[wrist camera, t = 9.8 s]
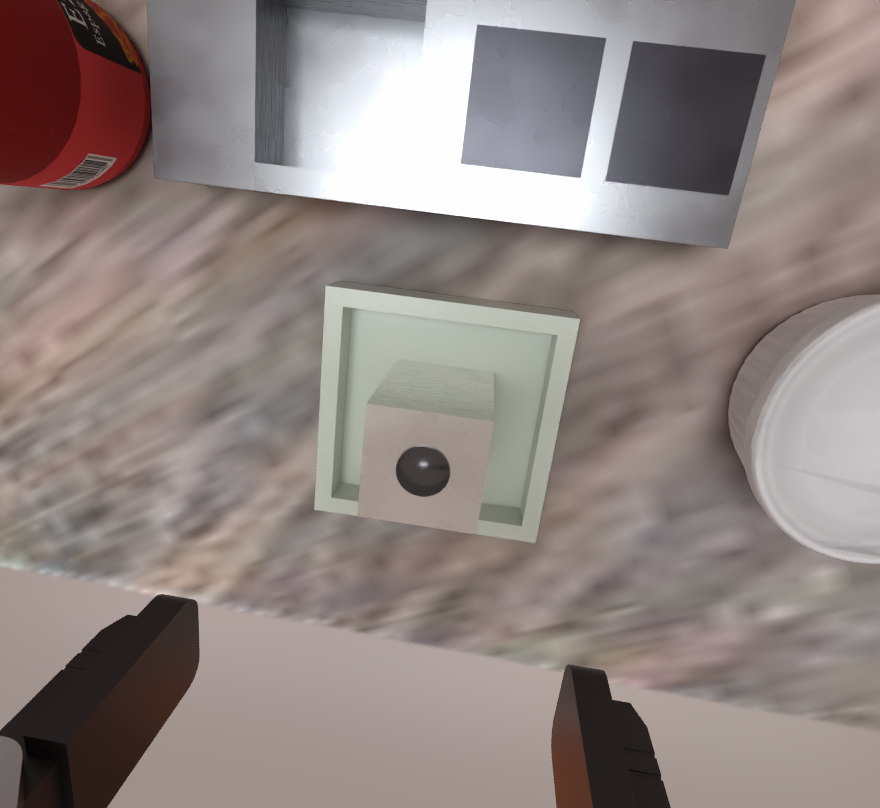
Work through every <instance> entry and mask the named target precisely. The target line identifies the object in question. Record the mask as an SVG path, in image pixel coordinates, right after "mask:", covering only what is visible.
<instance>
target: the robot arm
mask: <svg viewBox="0 0 880 808" xmlns="http://www.w3.org/2000/svg"><path fill="white" fill-rule="evenodd" d="M198 664H199V623H198V605H197V602H196V601H195V600H193V599H187V598H181V597H175V596H169V595H164V594H160V595H158V596H156V597H155V598H154V599H153V600H152V601H151V602H150V603H149V604H148V605H147V606H146V607H145V608H144V609H143V610H142V611H141V612H140V613H139V614H138V615H137V616H132V615H127V616H125V617H123V618H121V619H120V620H118V621H116V622H114V623H113V624H111V625H109V626H108V627H106V628H104V629H102V630H101V631H100V632H99V633H98V634H97V635H96V636H95V637H94V638H93V639H92V640H91V641H90V642H89V643H88V644H87V645H86V646H85V647H84V648H83V649H82V652H81V653H78V654H77V655H76V656H75V657H74V658H73V659H72V660H71V661H70V662H69V663H68V664H67V665H66V668H65V669H64V670H61V671H60V672H59V673H58V674H57V675H56V676H55V677H54V678H53V679H52V680H51V681H50V682H49V683H48V684H47V685H46V686H45V687H44V688H43V689H42V690H41V691H40V692H39V693H38V694H37V695H36V696H35V697H34V698H33V699H32V700H31V701H30V702H29V703H28V704H27V705H26V706H25V707H24V708H23V709H22V710H21V711H20V712H19V713H18V714H17V715H16V716H15V717H14V718H13V719H12V720H11V721H10V722H8V723H7V724H6V725H5V726H4V727H3V728H2V729H1V731H0V808H107V806H108V805H109V803H110V802H111V801H112V799H113V798H114V796H115V795H116V793H117V792H118V791H119V789H120V788H121V786H122V785H123V783H124V782H125V780H126V779H127V777H128V776H129V775H130V773H131V772H132V770H133V769H134V767H135V766H136V764H137V763H138V761H139V760H140V758H141V757H142V756H143V754H144V753H145V751H146V750H147V748H148V747H149V745H150V744H151V742H152V741H153V740H154V738H155V737H156V735H157V734H158V732H159V730H160V729H161V728H162V726H163V725H164V723H165V722H166V721H167V719H168V718H169V716H170V715H171V713H172V712H173V710H174V709H175V708H176V706H177V705H178V703H179V702H180V700H181V699H182V697H183V696H184V694H185V693H186V691H187V690H188V688H189V687H190V685H191V683H192V681H193V679H194V677H195V674H196V671H197V668H198ZM551 749H552V763H553V774H554V783H555V795H556V805H557V808H671V807H670V804H669V801H668V797H667V794H666V790H665V787H664V783H663V781H661V773H660V770H659V766H658V763H657V759H656V758H655V757H654V755H655V753H654V749H653V746H652V742H651V739H650V736H649V732H648V729H647V726H646V725H645V724H644V722H643V721H642V719H641V718H640V717H639V716H638V714H637V712H636V711H635V709H634V708H633V707H632V705H631V704H630V703H627V702H621V701H615V700H612V697H611V693H610V688H609V684H608V680H607V676H606V673H605V672H604V671H603V670H598V669H592V668H586V667H581V666H575V665H569V664H568V665H567V666H566V668H565V672H564V676H563V680H562V685H561V689H560V694H559V698H558V702H557V707H556V711H555V716H554V720H553V728H552V744H551Z"/></svg>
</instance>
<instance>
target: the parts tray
mask: <svg viewBox="0 0 880 808" xmlns="http://www.w3.org/2000/svg"><path fill="white" fill-rule="evenodd" d="M579 323H580V319H579V317H578V316H577V315H576V314H575V313H574V312H573V311H567V310H559V309H551V308H544V307H536V306H529V305H521V304H513V303H506V302H498V301H490V300H483V299H475V298H467V297H460V296H452V295H444V294H437V293H429V292H422V291H414V290H406V289H399V288H391V287H383V286H376V285H368V284H360V283H353V282H345V281H338V282H335V283H332V284H329V285H327V286H326V291H325V311H324V331H323V350H322V370H321V390H320V410H319V429H318V449H317V469H316V489H315V508H314V510H321V511H327V512H334V513H341V514H347V515H354V516H357V514H358V502H359V489H360V477H361V464H362V452H363V439H364V427H365V414H366V403H367V402H368V400H369V399H370V398H371V396H372V395H373V393H374V392H375V391H376V389H377V388H378V386H379V385H380V384H381V382H382V381H383V379H384V378H385V377H386V375H387V374H388V372H389V371H390V370H391V368H392V367H393V365H394V364H395V363H396V361H397V360H398V359H404V360H411V361H418V362H425V363H433V364H440V365H447V366H454V367H462V368H469V369H476V370H483V371H490V372H494V427H493V433H492V439H491V446H490V452H489V458H488V464H487V471H486V477H485V483H484V490H483V496H482V502H481V508H480V515H479V521H478V527H477V533H476V534H478V535H485V536H492V537H498V538H505V539H511V540H518V541H524V542H531V543H536V538H537V533H538V528H539V523H540V518H541V513H542V508H543V503H544V498H545V493H546V488H547V483H548V478H549V473H550V468H551V463H552V458H553V453H554V448H555V443H556V438H557V433H558V428H559V423H560V418H561V413H562V408H563V403H564V398H565V393H566V388H567V383H568V378H569V373H570V368H571V363H572V358H573V353H574V348H575V343H576V338H577V333H578V328H579Z"/></svg>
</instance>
